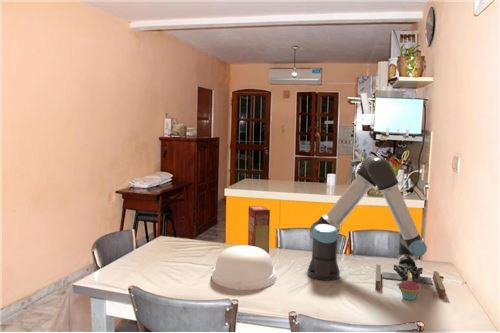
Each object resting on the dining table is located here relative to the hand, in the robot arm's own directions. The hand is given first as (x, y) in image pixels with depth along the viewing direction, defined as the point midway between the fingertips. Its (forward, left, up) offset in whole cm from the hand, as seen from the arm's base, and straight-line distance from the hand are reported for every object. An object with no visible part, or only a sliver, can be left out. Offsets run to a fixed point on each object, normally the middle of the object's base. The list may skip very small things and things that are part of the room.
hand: (410, 280), depth 180 cm
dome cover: (-73, -7, -6) cm, 73 cm away
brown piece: (0, +12, -6) cm, 13 cm away
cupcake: (0, -4, -6) cm, 8 cm away
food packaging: (-78, +35, -6) cm, 86 cm away
